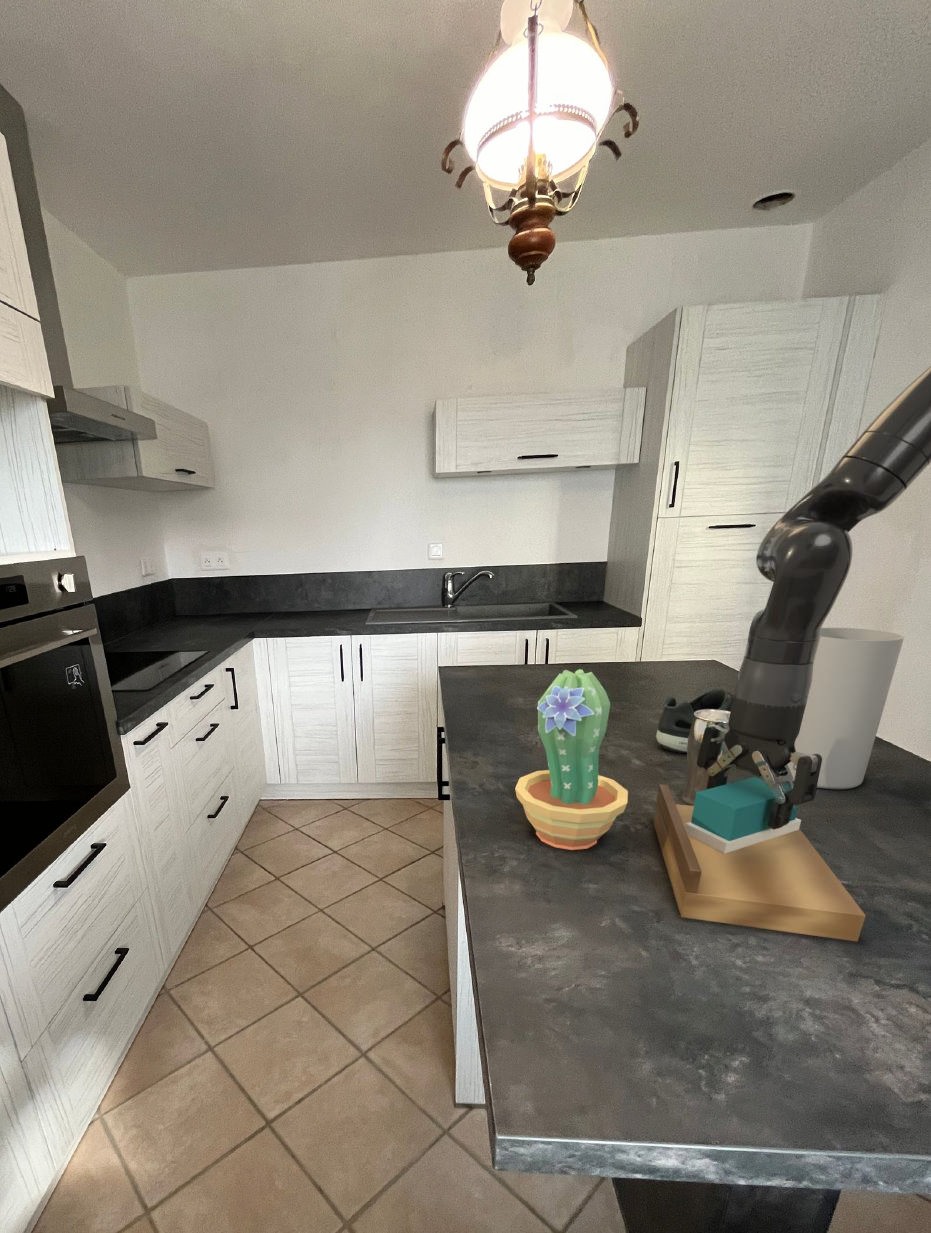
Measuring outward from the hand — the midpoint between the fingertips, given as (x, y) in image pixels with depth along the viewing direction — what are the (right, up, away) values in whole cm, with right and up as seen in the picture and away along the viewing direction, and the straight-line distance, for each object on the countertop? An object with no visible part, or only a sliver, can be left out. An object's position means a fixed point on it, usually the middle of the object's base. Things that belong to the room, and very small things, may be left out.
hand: (743, 813), depth 78 cm
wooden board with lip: (-2, -8, -2) cm, 8 cm away
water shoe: (+23, +9, +42) cm, 48 cm away
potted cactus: (-21, -5, +9) cm, 23 cm away
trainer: (0, -3, +1) cm, 3 cm away
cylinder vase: (+29, +4, +26) cm, 39 cm away
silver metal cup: (+5, 0, +18) cm, 18 cm away
